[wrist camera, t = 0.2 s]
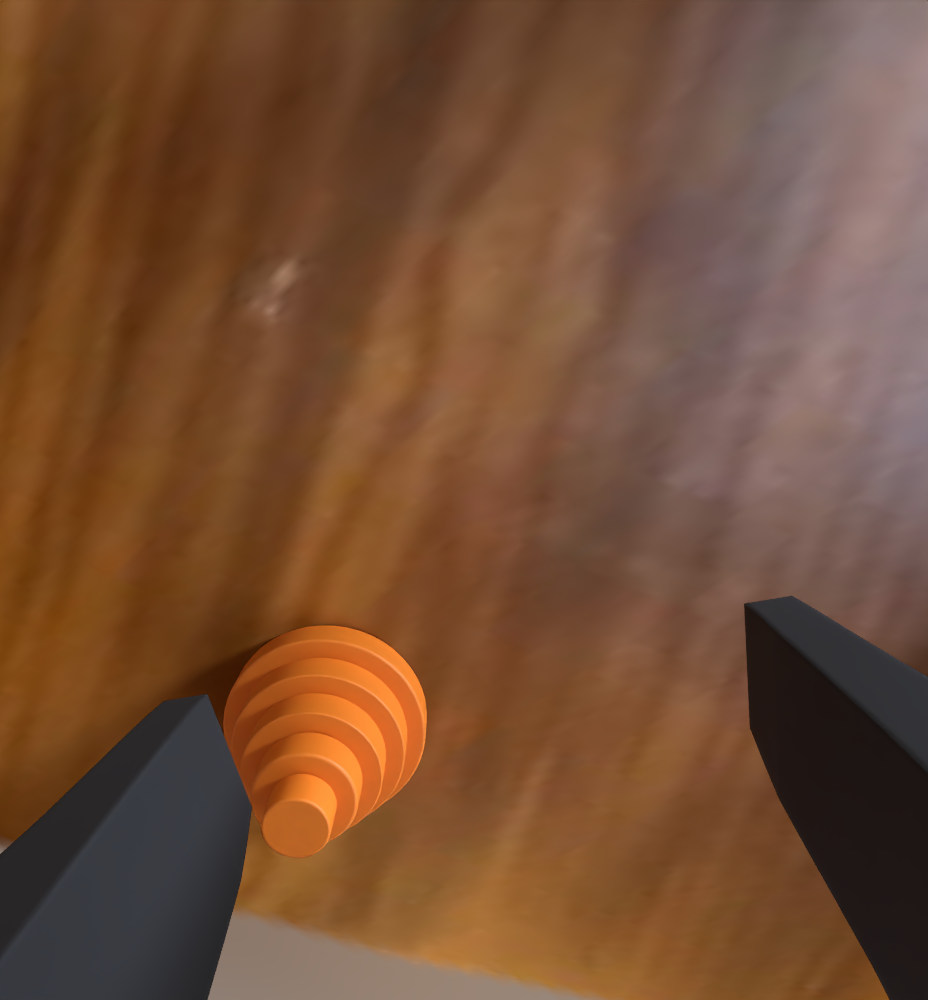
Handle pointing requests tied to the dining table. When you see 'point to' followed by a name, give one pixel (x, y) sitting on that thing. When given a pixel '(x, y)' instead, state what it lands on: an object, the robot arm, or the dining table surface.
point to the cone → (323, 733)
